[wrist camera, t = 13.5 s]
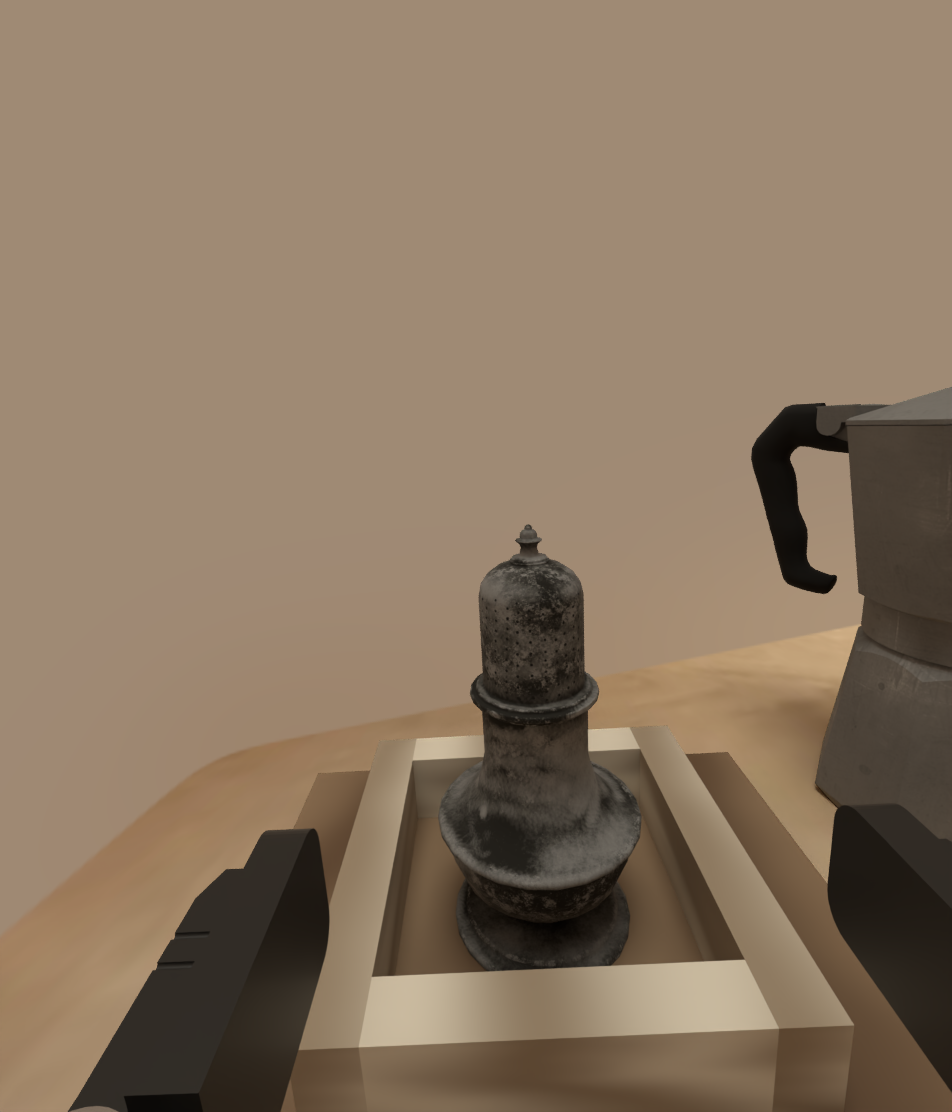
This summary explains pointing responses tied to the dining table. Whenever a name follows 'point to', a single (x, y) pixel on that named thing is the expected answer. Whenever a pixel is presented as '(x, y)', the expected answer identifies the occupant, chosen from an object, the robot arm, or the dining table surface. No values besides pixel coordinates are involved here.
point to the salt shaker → (538, 786)
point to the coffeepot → (881, 594)
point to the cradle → (593, 992)
